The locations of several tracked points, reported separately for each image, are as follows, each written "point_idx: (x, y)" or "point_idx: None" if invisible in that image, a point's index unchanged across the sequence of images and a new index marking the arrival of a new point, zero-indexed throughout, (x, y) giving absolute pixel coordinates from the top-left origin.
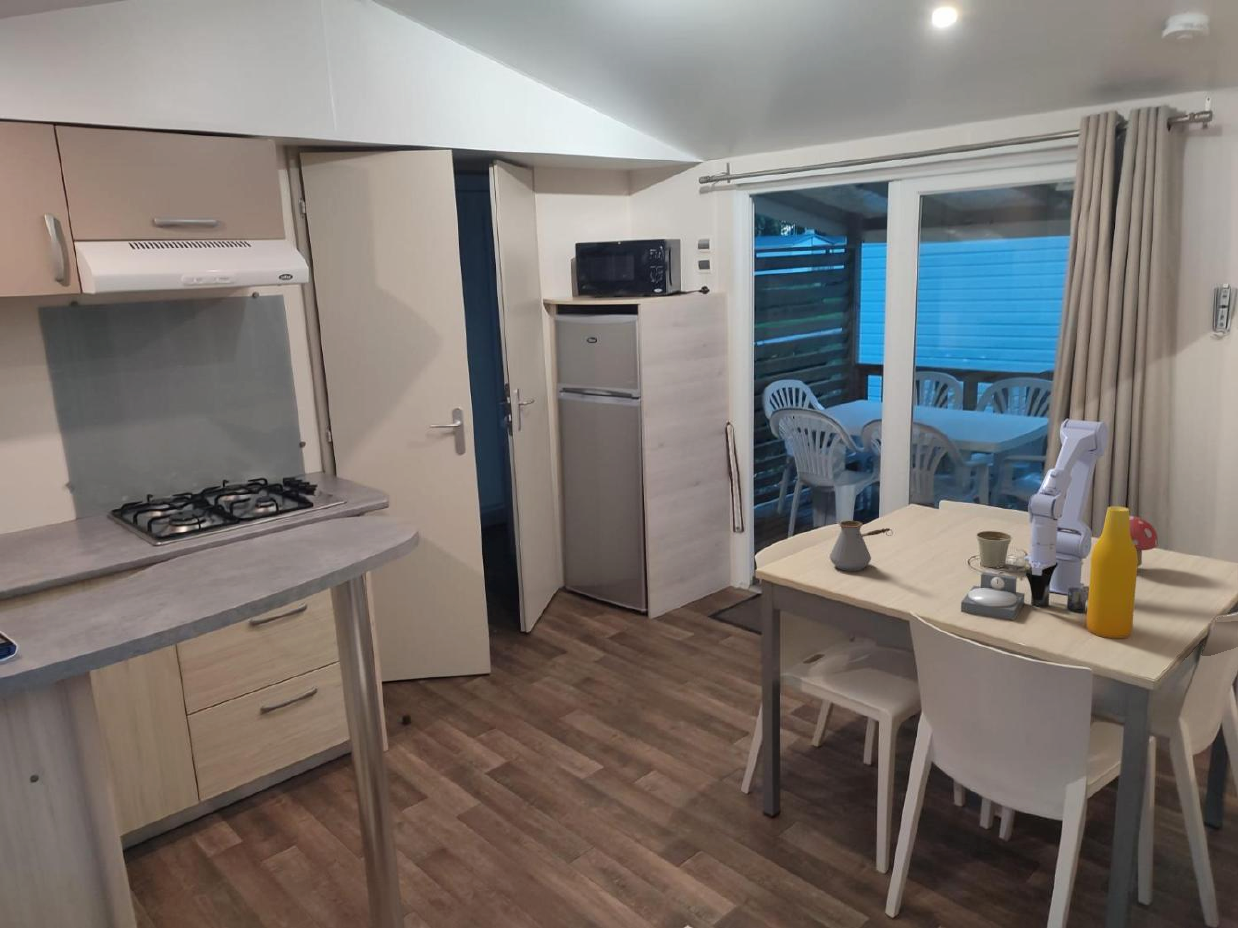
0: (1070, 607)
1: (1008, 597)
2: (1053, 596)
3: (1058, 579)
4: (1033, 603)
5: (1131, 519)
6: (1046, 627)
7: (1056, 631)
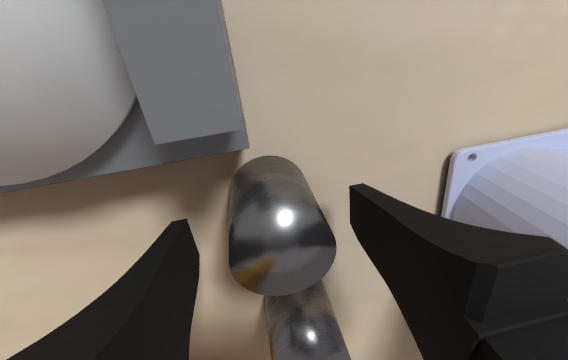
0: (268, 301)
1: (4, 124)
2: (402, 195)
3: (500, 230)
4: (232, 183)
5: None
6: (18, 302)
7: (14, 334)
